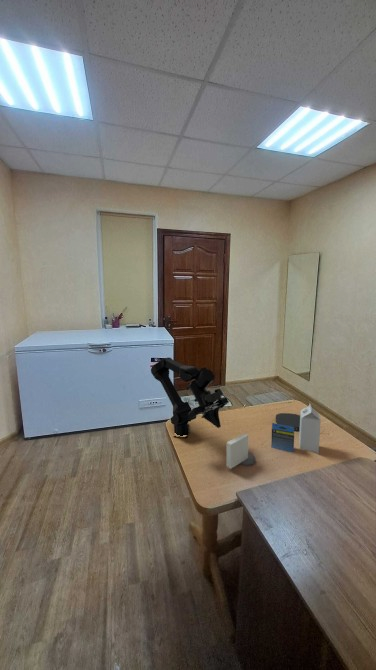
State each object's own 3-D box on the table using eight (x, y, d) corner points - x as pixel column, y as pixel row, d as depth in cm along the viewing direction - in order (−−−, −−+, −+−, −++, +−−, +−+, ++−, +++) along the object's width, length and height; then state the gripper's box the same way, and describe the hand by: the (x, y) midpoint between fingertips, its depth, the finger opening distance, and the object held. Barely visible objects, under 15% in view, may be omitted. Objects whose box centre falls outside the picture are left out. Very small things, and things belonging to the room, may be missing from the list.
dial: (244, 452, 109) (244, 428, 108) (258, 460, 104) (259, 434, 103) (221, 466, 101) (221, 439, 99) (235, 475, 96) (236, 447, 94)
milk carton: (316, 445, 116) (318, 404, 113) (318, 454, 109) (321, 410, 107) (298, 442, 118) (300, 402, 115) (299, 451, 112) (302, 408, 109)
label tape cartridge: (294, 450, 113) (295, 422, 111) (293, 455, 109) (294, 427, 108) (272, 445, 117) (273, 419, 115) (270, 450, 113) (271, 422, 111)
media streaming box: (303, 419, 141) (304, 414, 141) (309, 433, 127) (309, 427, 127) (274, 416, 144) (274, 411, 144) (277, 430, 130) (277, 424, 130)
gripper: (192, 388, 102) (212, 426, 95) (225, 378, 113) (246, 411, 106) (179, 402, 109) (198, 438, 102) (212, 391, 120) (231, 423, 114)
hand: (219, 427), depth 106 cm, fingers closed
